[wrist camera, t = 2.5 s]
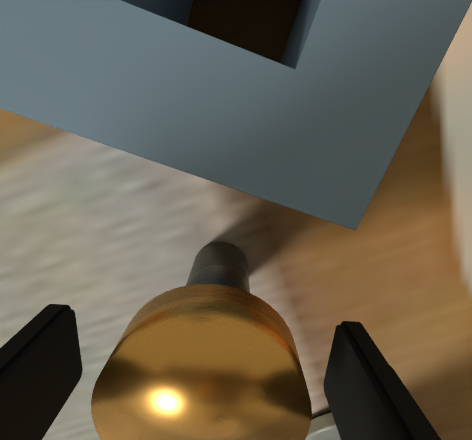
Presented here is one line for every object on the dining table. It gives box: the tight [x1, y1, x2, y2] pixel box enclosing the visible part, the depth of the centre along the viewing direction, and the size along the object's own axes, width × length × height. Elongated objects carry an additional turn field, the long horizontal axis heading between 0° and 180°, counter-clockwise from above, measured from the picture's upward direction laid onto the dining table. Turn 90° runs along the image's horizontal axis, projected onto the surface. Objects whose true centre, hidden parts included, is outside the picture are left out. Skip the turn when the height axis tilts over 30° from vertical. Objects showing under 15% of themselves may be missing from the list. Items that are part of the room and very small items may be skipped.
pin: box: [91, 242, 312, 440], centre depth 12 cm, size 6×6×9 cm
